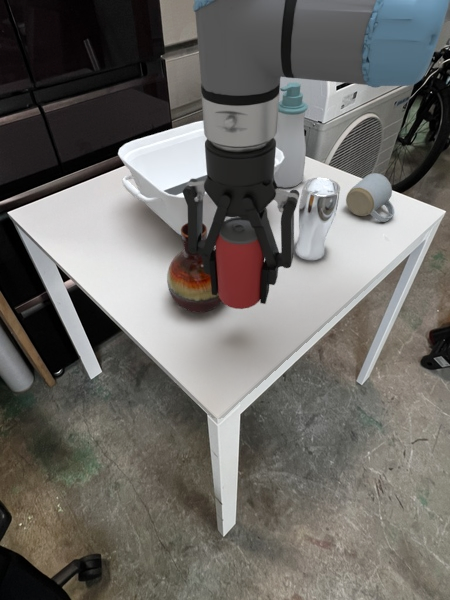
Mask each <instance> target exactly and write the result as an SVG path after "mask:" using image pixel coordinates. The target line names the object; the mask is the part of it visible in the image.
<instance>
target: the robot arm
mask: <svg viewBox="0 0 450 600" xmlns="http://www.w3.org/2000/svg"><path fill="white" fill-rule="evenodd" d="M192 8H193V13H195V24H196V25H195V26H196V37H197V49H198V61H199V73H200V90H201V93H200V96H201V108H202V121H203V124H204V135H205V136H206V138H207V140H206V141H205V156H206V170H207V178H206V180H205V181H199V182H198V181H197V180H196V179H190V181H189V182H188V184H187V185H186V187H185V188H184V190H183V195H184V198H185V200H186V203H187V206H188V251H189V252H190V253H192V254H195V253H198V254H200V255H201V256H202V258H203V267H204V272H205V274H208V275H210V277H211V290H212V295H217V293H218V281H217V264H216V248H215V244H216V239H217V237H218V234H219V231H220V229H221V227H222V225H223V223H224V221H225V218H226V217H240V218H243V219H248V220H249V221H250V224H251V227H252V228H254V230H255V233H256V235H257V238H258V241H259V244H260V246H261V249H262V252H263V255H264V265H263V268H262V279H261V297H260V301H259V302H260V304H262V305H266V304H267V298H268V296H269V292H270V286H275V285H276V283H277V280H278V276H279V268H284V269H289V268H291V267H292V263H293V260H294V254H295V211H296V209H297V206H298V203H299V199H300V192H299V190H297V189H291V190H290V191H286V190H283V189H280V188H279V187H277V184H276V182H275V180H274V165H275V151H276V141H275V139H274V136H275V135H276V133H277V123H278V109H279V102H280V91H281V90H280V88H281V78H285V79H286V78H288V79H298V80H299V79H301V80H311V81H319V82H321V81H322V82H330V83H331V82H333V83H343V84H353V85H354V84H355V85H363V86H367V87H370V88H375V89H376V88H380V87H411V86H414V85H416V84H417V83H419V82H420V81H421V80H423V78H424V76H425V75H426V73H427V72H428V70H429V67H430V64H431V62H432V59H433V56H434V53H435V51H436V47H437V45H438V41H439V39H440V35H441V32H442V29H443V27H444V23H446V22H450V0H194V3H193V5H192ZM205 192H206V193H207V194H208V195H209V197H210V198H211V199H212V201H213V202H214V203H215V205H216V206H217V210H216V213H215V216H214V218H213V222H212V225H211V228H210V231H209V234H208V236H207V239H206V242H204V241H202V222H203V197H204V196H205ZM273 201H275V202H276V204H277V206H276V207H277V210H278V211H279V212H280V213H281V216H280V248H281V251H279V250H280V249H279V248H278V247H279V246H278V245H277V241H276V238H275V235H274V232H273V229H272V226H271V223H270V220H269V217H268V210H267V207H268V206H269V205H270V204H271V203H272V202H273Z"/></svg>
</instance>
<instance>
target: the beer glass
mask: <svg viewBox="0 0 450 600" xmlns="http://www.w3.org/2000/svg"><path fill="white" fill-rule="evenodd" d="M302 185H303V187H302V191H301V195H300V198H299V199H300V200H299V206H298V232H299V233H298V239H297V242H296V244H295V246H294V253H295V254H296V256H297V257H299V258H300V259H302V260H306V261H317V260H320V259H322V257H324V255H325V252H326V251H325V249H326V247H325V246H326V245H325V244H326V239H327V236H328V233H329V232H330V229H331V226H332V224H333V223H334V220H335V217H336V214H337V210H338V206H339V200H340V191H341V186H340V185H339V183H338V182H337V181H335V180H333V179H330V178H326V177H313V178H309V179H307V180H306V181H304V183H303V184H302Z"/></svg>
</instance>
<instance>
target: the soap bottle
mask: <svg viewBox="0 0 450 600" xmlns="http://www.w3.org/2000/svg"><path fill="white" fill-rule="evenodd" d="M301 87H302V86H301V83H299V82H289V83H287V84H286V86H282V87H280V91H281V92H283V94H282V100H281V101H280V100H279V109H278V123H277V133H276V135H275V136H274V139H275V141H276V148H278V149H279V150H280V151H282V152H283V155H284V160H283V162H282V163H281V165H280V167H279V169H278V171H277V172H275V174H274V180H275V182H276V184H277V188H284V189H287V188H294V187H296V186H298V185H300V184H301V183H302V181H303V178H304V173H305V166H306V153H307V146H306V137H305V126H304V125H305V116H306V111H307V110H308V108H309V105H308V103H306V102H304V101H303V98H304V95H303V93H302V92H301Z"/></svg>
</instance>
